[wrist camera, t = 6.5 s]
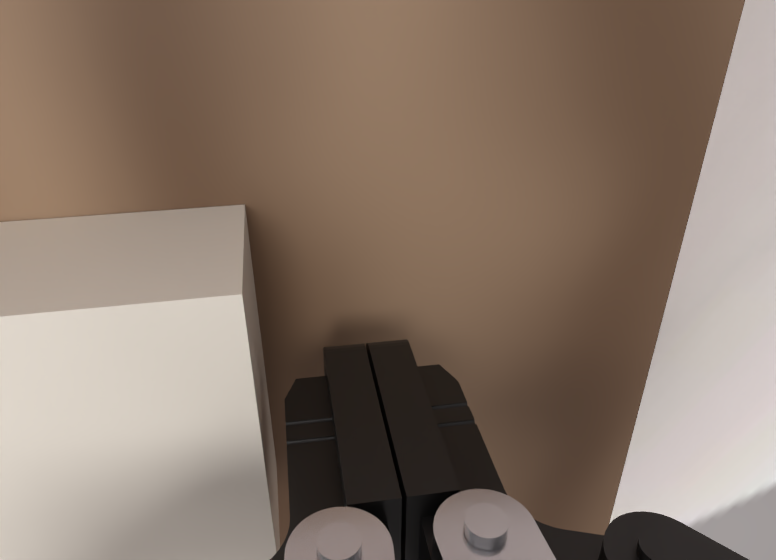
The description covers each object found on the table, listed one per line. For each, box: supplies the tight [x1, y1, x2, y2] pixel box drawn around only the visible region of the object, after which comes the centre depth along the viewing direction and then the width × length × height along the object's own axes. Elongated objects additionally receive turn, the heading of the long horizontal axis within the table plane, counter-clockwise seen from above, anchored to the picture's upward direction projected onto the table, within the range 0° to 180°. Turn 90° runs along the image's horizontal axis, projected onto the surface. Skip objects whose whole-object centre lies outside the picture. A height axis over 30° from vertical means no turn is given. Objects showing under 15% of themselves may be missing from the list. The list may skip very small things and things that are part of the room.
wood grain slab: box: [0, 0, 745, 547], centre depth 14 cm, size 16×14×5 cm
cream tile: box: [0, 205, 280, 560], centre depth 10 cm, size 6×6×3 cm
